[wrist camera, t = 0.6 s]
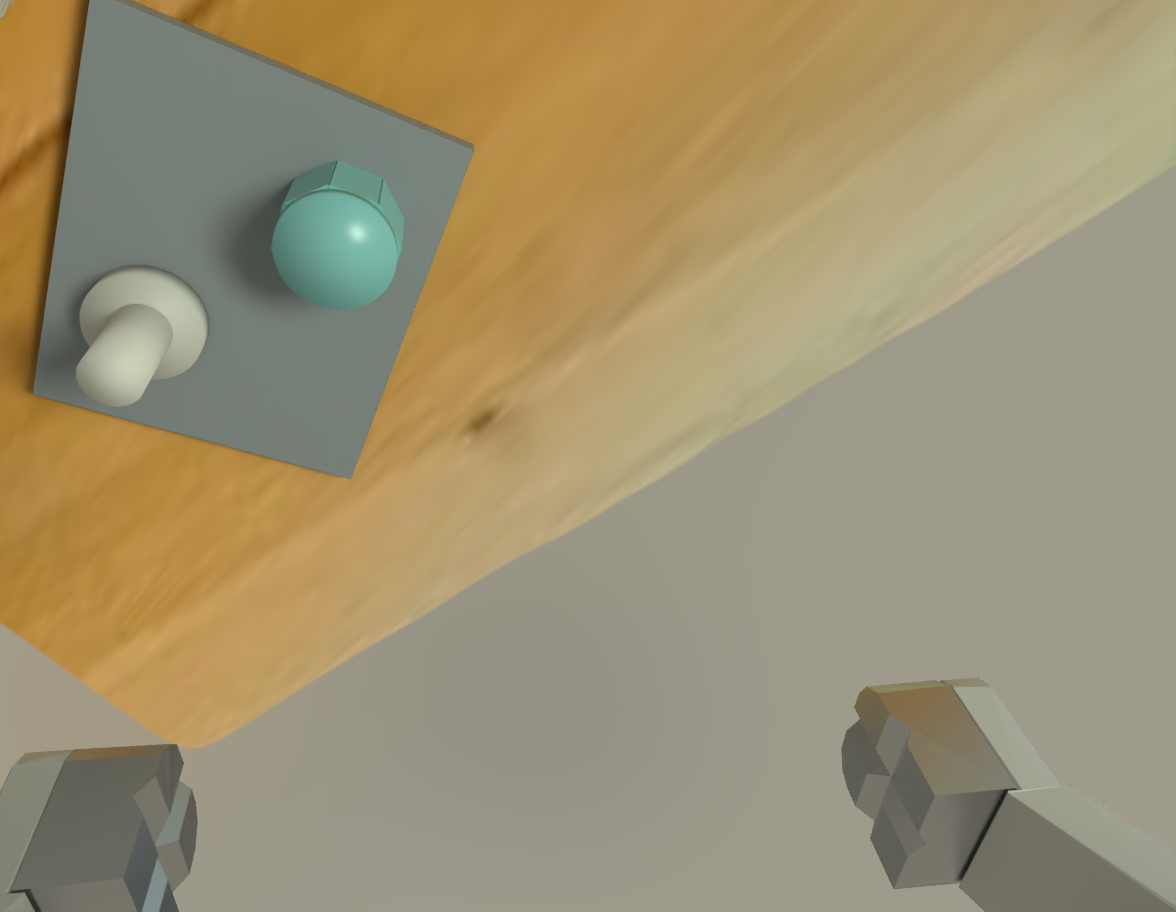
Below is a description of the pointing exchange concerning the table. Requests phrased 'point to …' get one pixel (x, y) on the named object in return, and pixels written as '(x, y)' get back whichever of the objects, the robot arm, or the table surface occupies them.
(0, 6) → the supplement box
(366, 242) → the cap
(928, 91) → the table surface
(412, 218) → the post board
